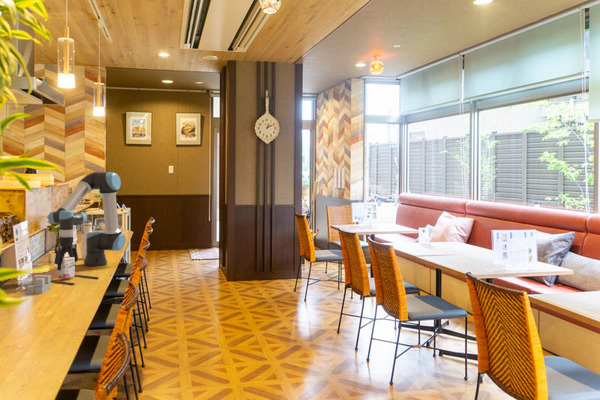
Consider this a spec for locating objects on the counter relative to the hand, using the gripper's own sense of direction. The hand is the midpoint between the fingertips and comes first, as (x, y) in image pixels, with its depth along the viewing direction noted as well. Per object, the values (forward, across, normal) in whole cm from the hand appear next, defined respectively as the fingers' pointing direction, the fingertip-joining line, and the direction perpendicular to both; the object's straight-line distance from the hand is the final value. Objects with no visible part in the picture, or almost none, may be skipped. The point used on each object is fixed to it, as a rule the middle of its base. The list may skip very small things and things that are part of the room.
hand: (66, 274), depth 316 cm
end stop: (+3, 0, -9) cm, 10 cm away
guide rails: (+3, 0, +3) cm, 4 cm away
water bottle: (+4, -61, -42) cm, 75 cm away
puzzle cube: (+3, +31, +9) cm, 32 cm away
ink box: (+2, 0, 0) cm, 2 cm away
